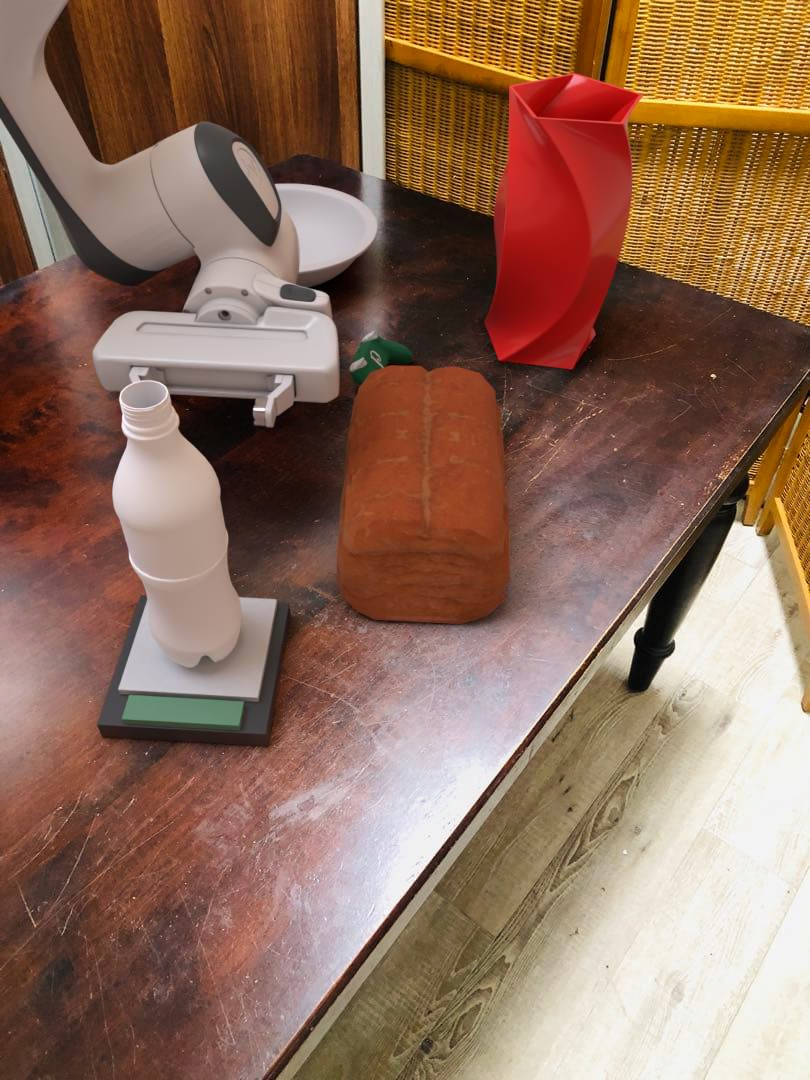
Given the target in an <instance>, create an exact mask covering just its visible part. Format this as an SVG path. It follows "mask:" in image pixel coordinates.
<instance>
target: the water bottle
mask: <svg viewBox="0 0 810 1080" xmlns="http://www.w3.org/2000/svg"><path fill="white" fill-rule="evenodd" d="M118 401H119V405H120V410H121V413H122V416H121V429H122V433H123V435H124V436H125V437H127V440H126V441H127V442H126V447H125V449H124V452H123V454H122V456H121V458H120V460H119V464H118V467H117V469H116V472H115V474H114V478H113V483H112V493H111V494H112V495H111V496H112V504H113V508H114V509H113V510H114V512H115V514H116V516H117V517H118V519H119V522H120V526H121V529H122V533H123V536H124V539H125V543H126V546H127V549H128V559H129V562H130V566H131V567H132V569H133V571H134V572H135V574H137V576H138V577H139V579H140V580H141V582H142V584H143V587H144V591H145V593H146V594H145V595H147V600H148V623H149V627H150V630H151V633H152V636H153V638H154V640H155V641H156V643H157V644H158V646H159V647H160V649H161V650H162V651H163V652H164V654H165V655H166V656H167V657H168V658H169V659H170V660H172V661H173V662H175V663H177V664H179V665H182V666H184V667H189V668H191V667H195V666H196V665H197V664H198V663H199V661H200V659H201V657H202V656H204V655H206V656H209V657H210V658H211V659H212V660H213V661H214V662H218V661H220V660H223V659H224V658H225V657H227V656H228V655H229V653H230V652H231V651H232V650H233V648H234V647H235V645H236V643H237V640H238V637H239V633H240V627H241V621H242V611H241V605H240V600H239V597H240V596H239V595H238V592H237V590H236V589H235V587H234V584H233V583H232V579H231V575H230V571H229V565H228V548H229V547H228V546H229V534H228V531H227V530H228V529H227V528H226V523H225V518H224V513H223V507H222V502H221V485H220V482H219V478H218V476H217V473H216V471H215V470H214V468H213V466H212V465H211V463H210V462H209V461H208V459H207V458H206V457H205V456H204V455H203V454H202V452H201V451H199V450H198V448H196V447H195V445H193V444H192V443H191V442H190V441H188V439H187V438H186V437H185V436H184V435H183V434H182V433H181V432H180V429H179V426H180V417H179V414H178V413H177V412H176V409H175V408H174V406H173V405H172V399H171V394H169V392H168V390H167V388H166V386H165V385H163V384H162V383H160V382H156V381H139V382H135V383H132V384H130V385H128V386H126V387H125V388H124V389H123V390H122V391H120V393H119V397H118Z"/></svg>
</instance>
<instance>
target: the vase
mask: <svg viewBox="0 0 810 1080" xmlns="http://www.w3.org/2000/svg"><path fill="white" fill-rule="evenodd" d="M508 91H509V92H508V153H507V163H506V165H505V167H504V170H503V173H502V175H501V178H500V181H499V184H498V187H497V191H496V195H495V201H494V209H493V231H494V240H495V241H494V243H495V251H496V252H495V253H496V281H495V282H496V283H495V290H494V295H493V298H492V301H491V306H490V308H489V311H488V313H487V315H486V318H484V321H483V323H484V326H485V328H486V330H487V333H488V335H489V338H490V340H491V341H490V342H491V343H492V347H493V348H494V351H495V354H496V357H497V359H498V361H500V362H504V363H505V362H506V363H514V364H523V365H531V366H532V365H533V366H541V367H548V368H555V369H556V368H557V369H566V370H573V369H574V368H575V367H576V365H577V364H578V362H579V360H580V358H581V357H582V355H583V354H584V352H585V351H586V350H587V348H588V347H589V345H590V343H592V341H593V340H594V338H595V336H596V335H597V333H596V331H595V328H594V325H595V323H596V321H597V319H598V316H599V314H600V311H601V309H602V306H603V304H604V301H605V299H606V296H607V294H608V292H609V288H610V285H611V283H612V280H613V277H614V274H615V271H616V268H617V266H618V262H619V259H620V257H621V256H620V255H621V252H622V249H623V245H624V240H625V237H626V232H627V228H628V224H629V218H630V211H631V206H632V196H633V182H634V181H633V179H634V178H633V177H634V175H633V174H634V173H633V170H634V169H633V157H632V149H631V143H630V138H629V132H628V131H629V129H628V125H629V121H630V117H631V114H632V113H633V111H634V109H635V108H636V107H637V105H638V103H640V101H641V100H642V99H643V97H644V95H643V94H642V93H640V92H636V91H634V90H630V89H628V88H623V87H620V86H617V85H613V84H611V83H607V82H604V81H601V80H598V79H595V78H592V77H589V76H585V75H582V74H579V73H577V72H576V73H575V72H573V73H567V74H563V75H558V76H552V77H548V78H547V77H546V78H542V79H538V80H537V79H536V80H532V81H526V82H520V83H515V84H511V85H508Z"/></svg>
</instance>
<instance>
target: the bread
mask: <svg viewBox="0 0 810 1080" xmlns="http://www.w3.org/2000/svg"><path fill="white" fill-rule="evenodd" d="M496 393H497V392H496V389H494V387H493V386H492V385H491V384H490V382H488V380H486V378H485V377H484V376H483V375H482V373H480V372H479V371H474V370H470V369H467V368H463V367H459V366H456V365H454V366H443V367H436V368H434V369H432V370H430V371H428V370H427V369H425V367H423V366H422V365H391V364H390V365H387V367H385V368H382V369H379V370H376V371H373V372H371V373H370V374H369V375H368V377H367V378H366V379H365V381H364V382H363V383H362V385H361V386H359V388H358V390H357V394H356V396H355V398H354V400H353V403H352V404H353V405H352V406H353V407H352V410H351V417H350V423H349V428H348V432H347V441H346V442H347V443H346V452H345V465H344V482H343V489H342V493H341V499H340V506H339V507H340V508H339V520H338V521H339V523H338V533H337V534H338V535H337V537H338V538H337V544H336V586H337V588H338V589H339V591H340V593H341V595H342V596H343V598H344V599H345V600H346V601H347V603H348V604H349V605H350V606H351V607H352V609H353V610H354V611H355V612H357V613H359V614H362V615H363V616H366V617H369V618H371V619H373V620H375V621H396V622H415V623H416V622H417V623H435V624H436V623H437V624H438V623H440V624H456V625H457V624H458V625H459V624H461V625H462V624H465V623H468V622H472V621H475V620H479V619H482V618H485V617H487V616H489V615H490V614H491V613H492V612H493V611H494V610H496V608H497V607H498V606H500V605H501V604H502V603H503V602H504V601H505V596H506V595H505V594H506V588H507V587H508V584H509V583H510V580H511V538H510V535H511V534H510V533H511V532H510V511H509V510H510V509H509V503H508V495H507V493H508V492H507V487H506V486H507V485H506V476H505V445H504V435H503V424H502V415H501V414H502V413H501V408H500V406H499V404H498V403H497V401H496V395H497V394H496Z"/></svg>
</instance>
